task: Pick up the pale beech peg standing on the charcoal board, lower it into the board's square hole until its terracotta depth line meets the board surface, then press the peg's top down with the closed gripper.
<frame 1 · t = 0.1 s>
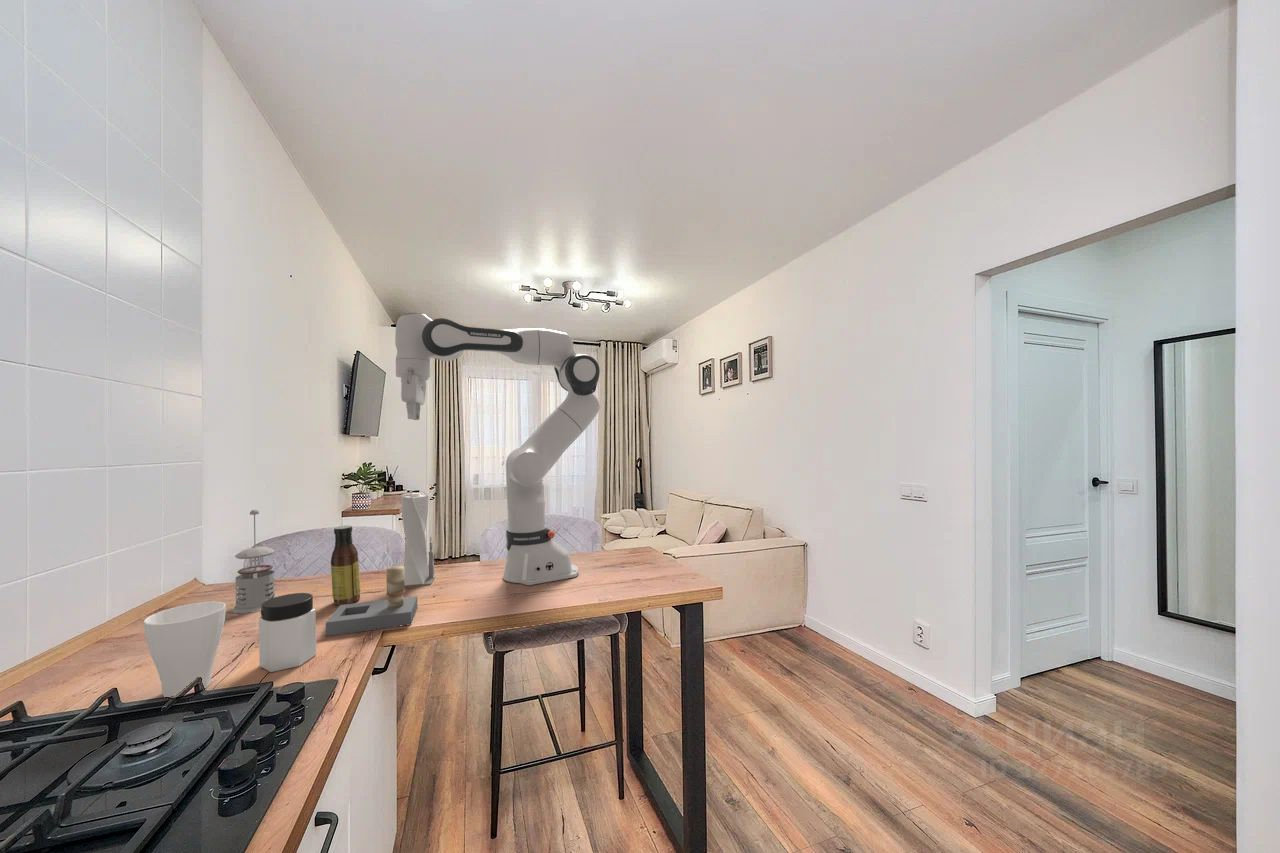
hand: (413, 419, 135), 48 cm above the counter, tool pointing down, fingers open, 8 cm apart
board: (374, 621, 112), on the counter
sauce bottle: (346, 602, 125), on the counter
cup: (187, 690, 83), on the counter
french press: (255, 606, 124), on the counter
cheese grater: (417, 583, 140), on the counter
peg: (395, 605, 114), point 3 cm above the counter, touching board
jar: (288, 662, 93), on the counter
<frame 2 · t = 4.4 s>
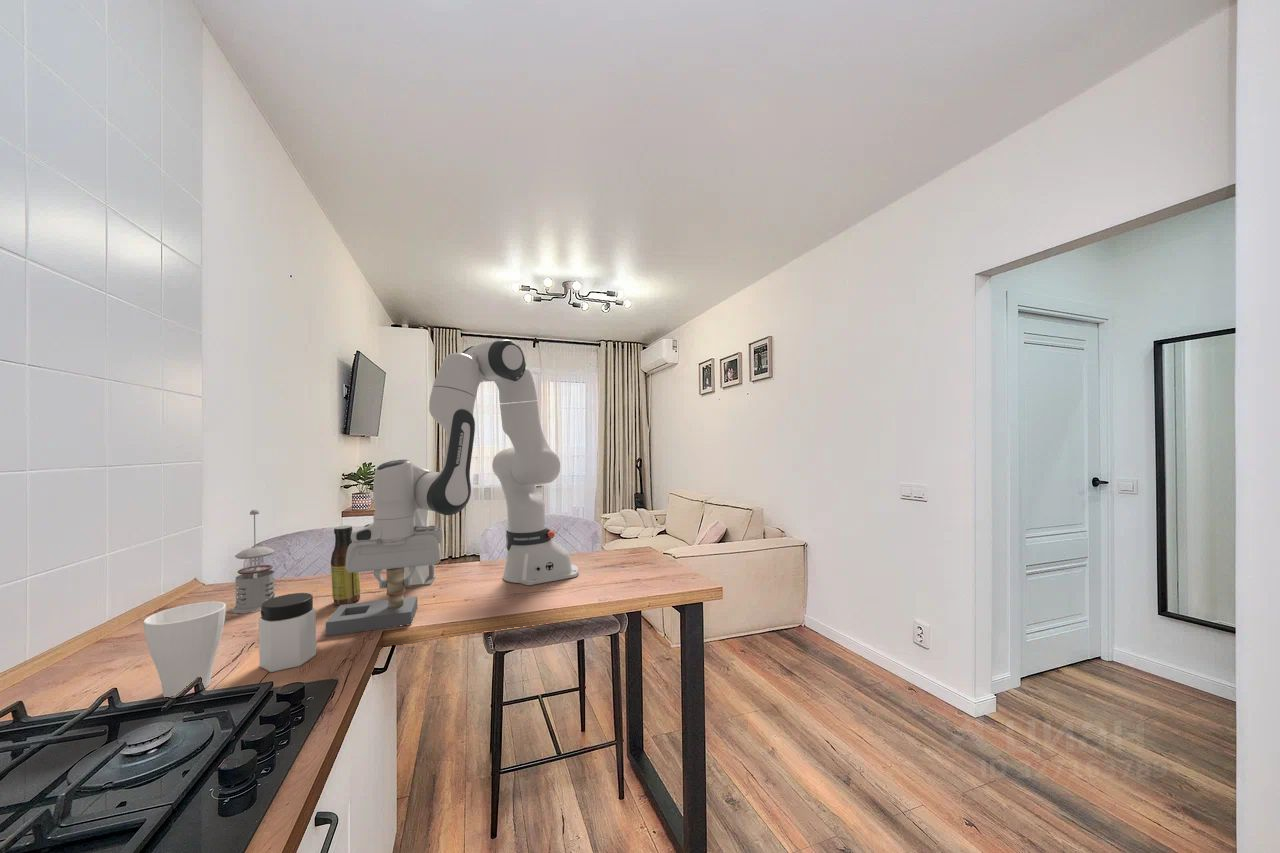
hand: (395, 586, 114), 8 cm above the counter, tool pointing down, fingers closed on peg, 4 cm apart
peg: (396, 605, 114), point 3 cm above the counter, touching board, gripper
everything else where it was.
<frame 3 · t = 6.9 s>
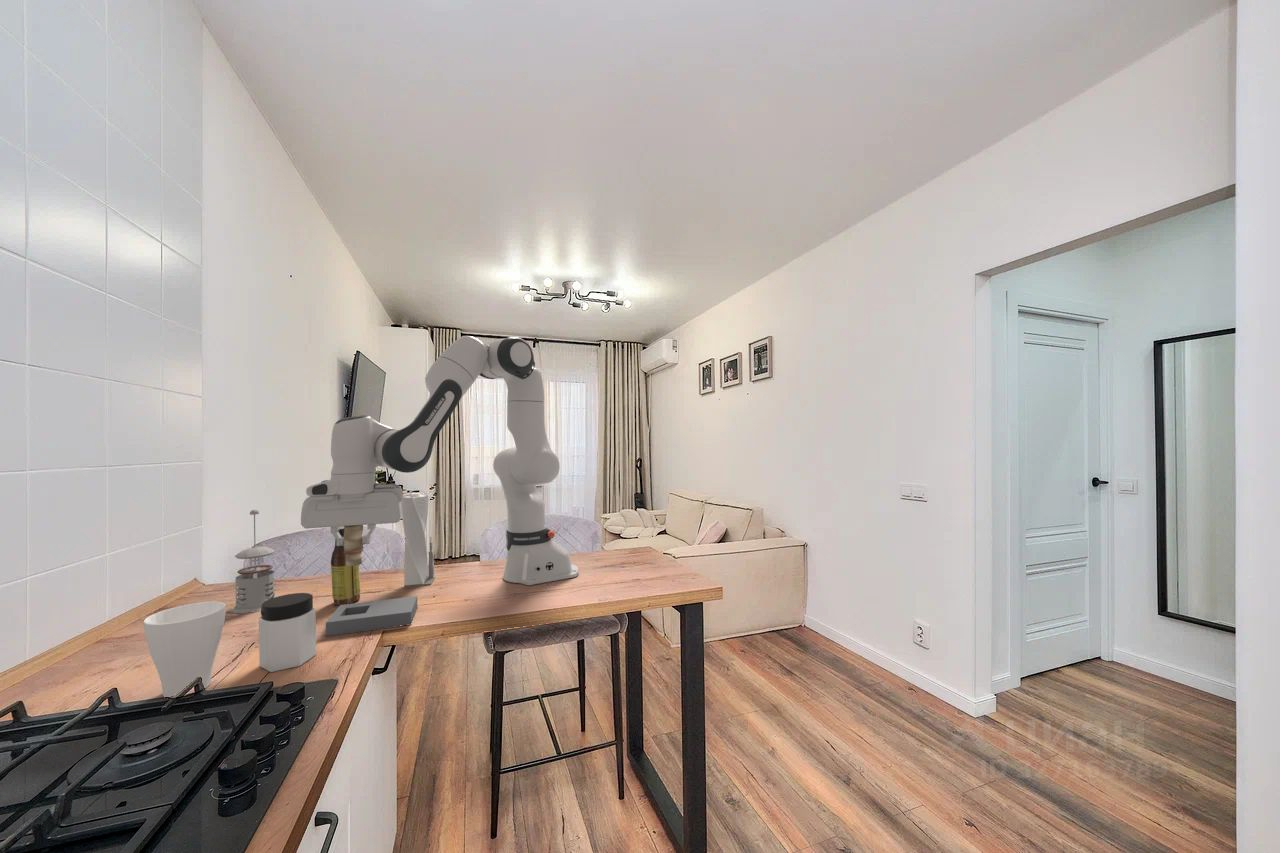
hand: (353, 544, 111), 18 cm above the counter, tool pointing down, fingers closed on peg, 4 cm apart
peg: (353, 564, 111), point 14 cm above the counter, touching gripper
everything else where it was.
when the fingers open (6 cm above the counter, at t = 9.4 s): peg moves 1 cm, resting in board.
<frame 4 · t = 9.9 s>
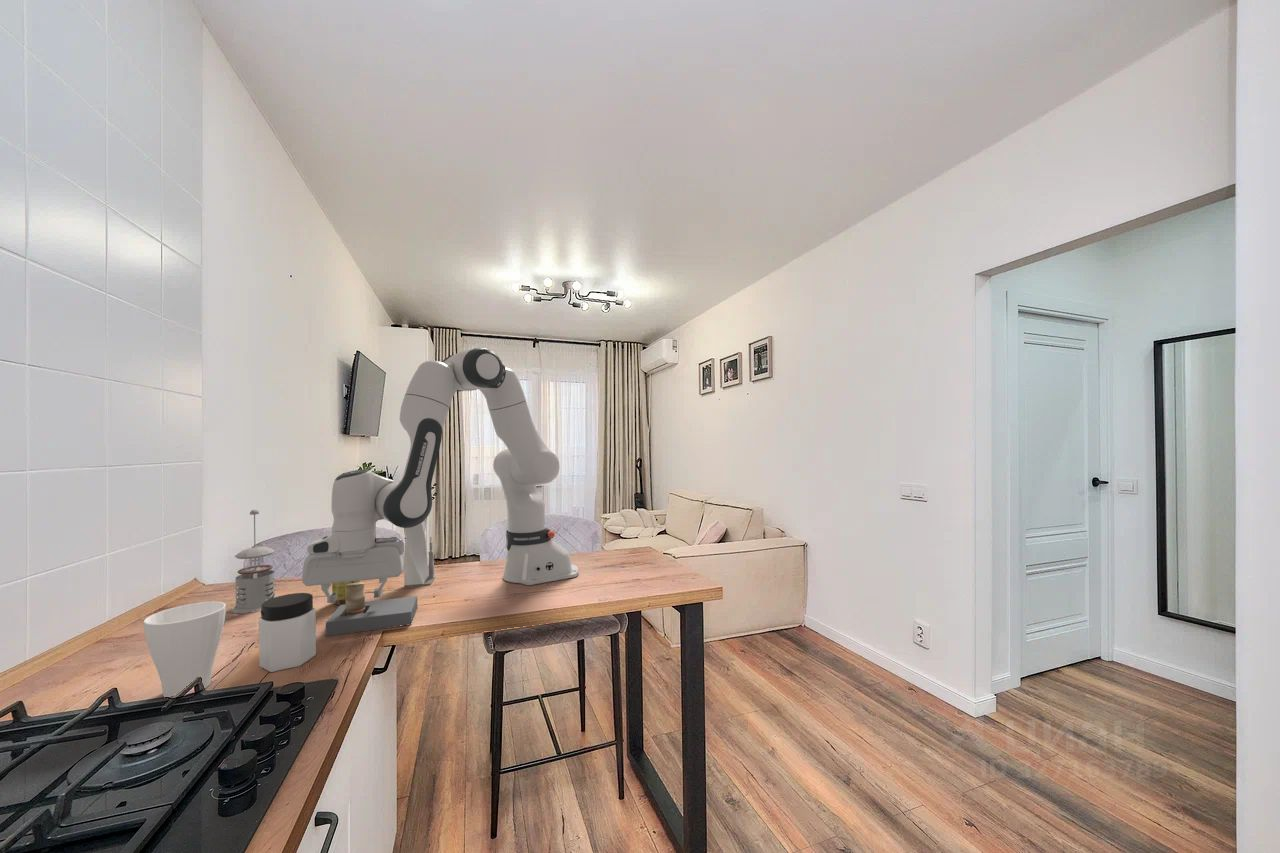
hand: (355, 599, 111), 6 cm above the counter, tool pointing down, fingers open, 8 cm apart
peg: (355, 623, 111), resting in board
everything else where it was.
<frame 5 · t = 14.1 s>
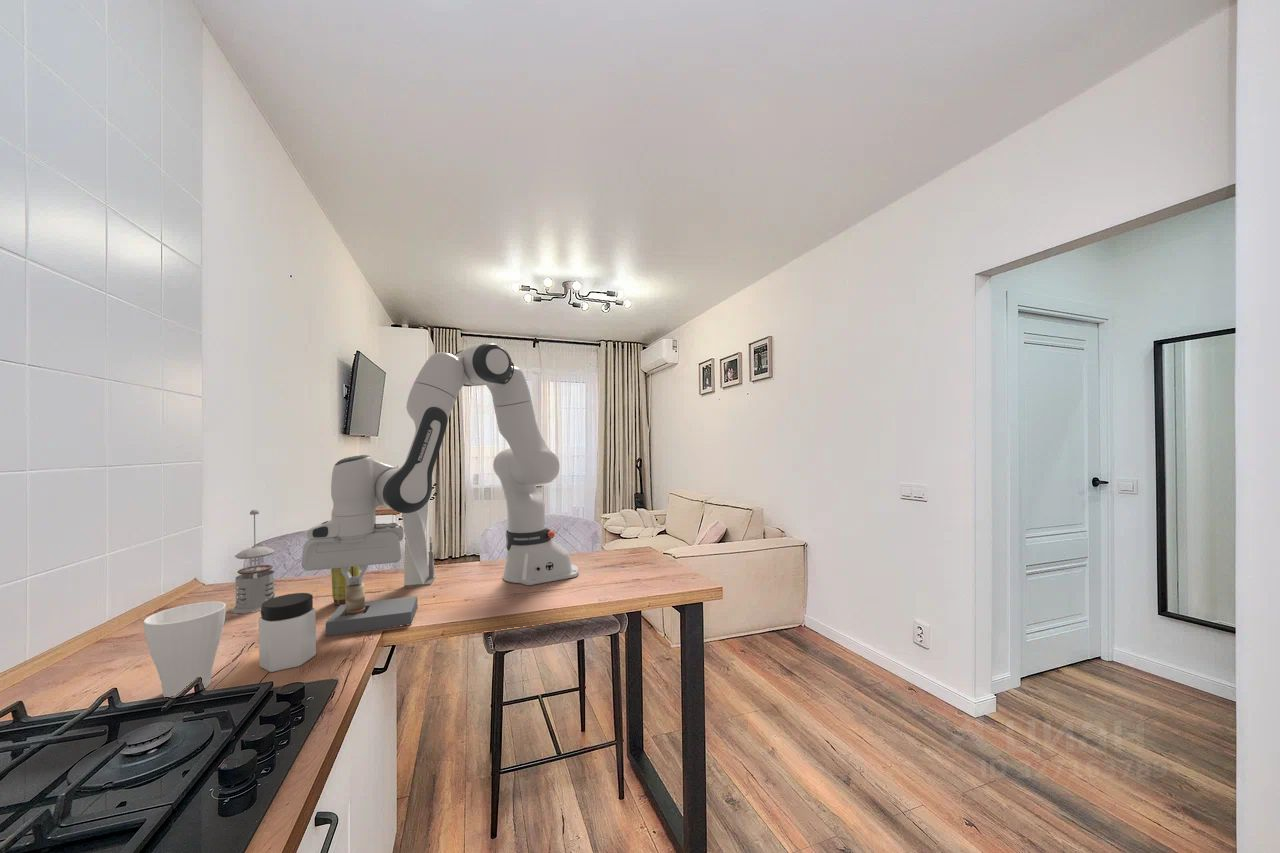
hand: (354, 584, 111), 9 cm above the counter, tool pointing down, fingers closed, pressing on peg
peg: (355, 623, 111), resting in board, touching gripper
everything else where it was.
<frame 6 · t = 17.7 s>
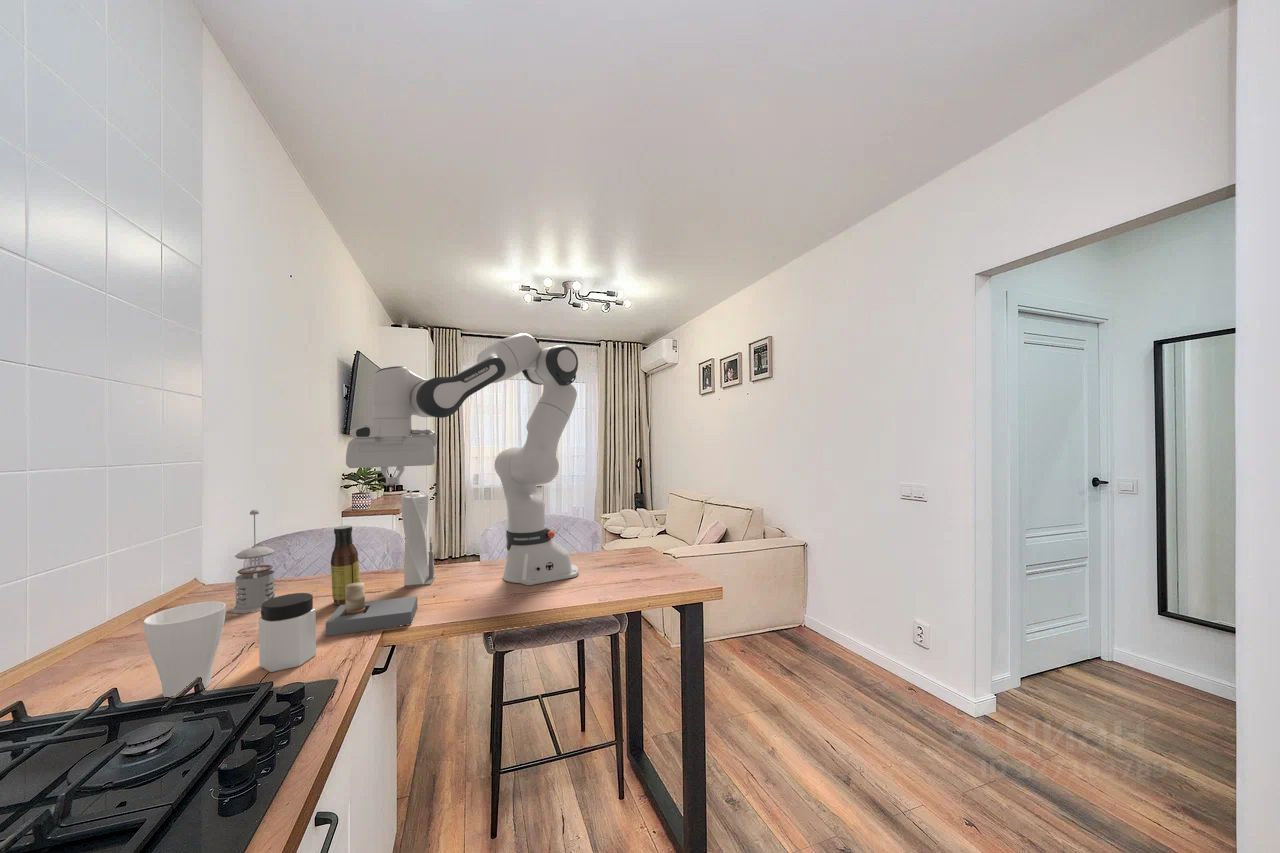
hand: (393, 484, 121), 31 cm above the counter, tool pointing down, fingers closed
peg: (355, 623, 111), resting in board
everything else where it was.
at the end: peg 0.0 cm from the target spot on the board, point 0.0 cm above the board's base; peg tilted 0°; the gripper is holding nothing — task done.
